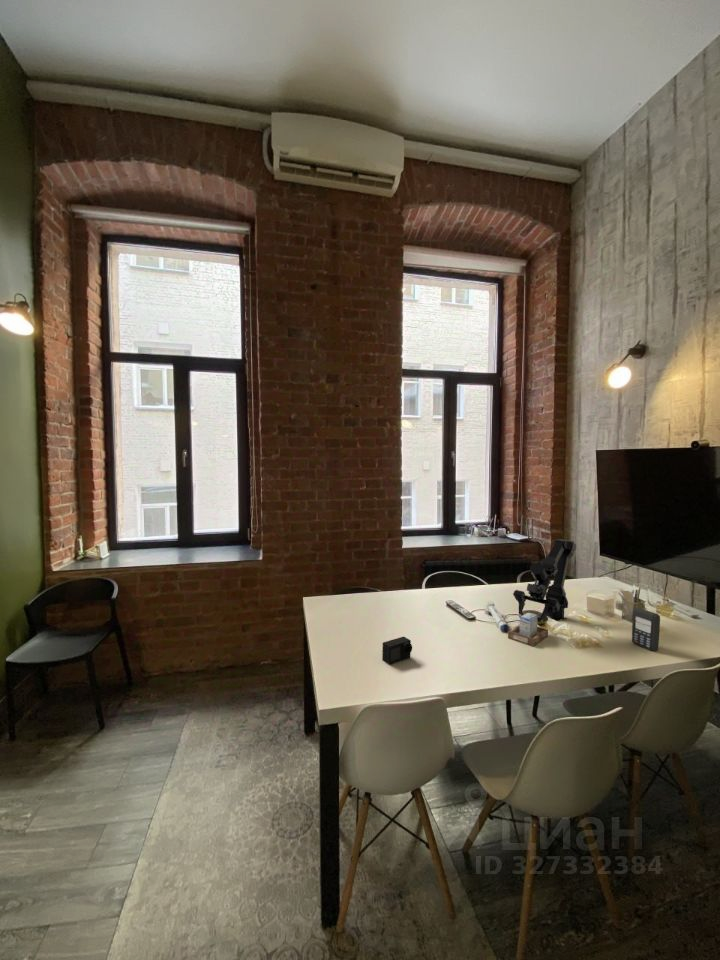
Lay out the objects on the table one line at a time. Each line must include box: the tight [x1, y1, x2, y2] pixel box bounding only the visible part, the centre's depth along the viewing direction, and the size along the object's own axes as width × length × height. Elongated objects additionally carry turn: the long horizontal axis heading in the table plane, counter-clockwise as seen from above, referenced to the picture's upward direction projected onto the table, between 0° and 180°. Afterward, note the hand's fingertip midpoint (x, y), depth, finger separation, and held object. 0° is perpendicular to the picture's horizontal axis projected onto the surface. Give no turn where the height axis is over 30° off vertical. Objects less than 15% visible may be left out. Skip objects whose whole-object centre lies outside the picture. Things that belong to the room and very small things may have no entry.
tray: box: [507, 623, 549, 648], centre depth 174 cm, size 15×11×3 cm
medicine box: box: [519, 612, 539, 638], centre depth 174 cm, size 8×4×9 cm, turn 135°
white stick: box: [483, 600, 510, 633], centre depth 192 cm, size 5×7×25 cm
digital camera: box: [381, 636, 413, 666], centre depth 152 cm, size 10×5×7 cm, turn 124°
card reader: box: [631, 607, 661, 652], centre depth 166 cm, size 9×4×15 cm, turn 23°
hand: (529, 616), depth 175 cm, fingers open, 9 cm apart
